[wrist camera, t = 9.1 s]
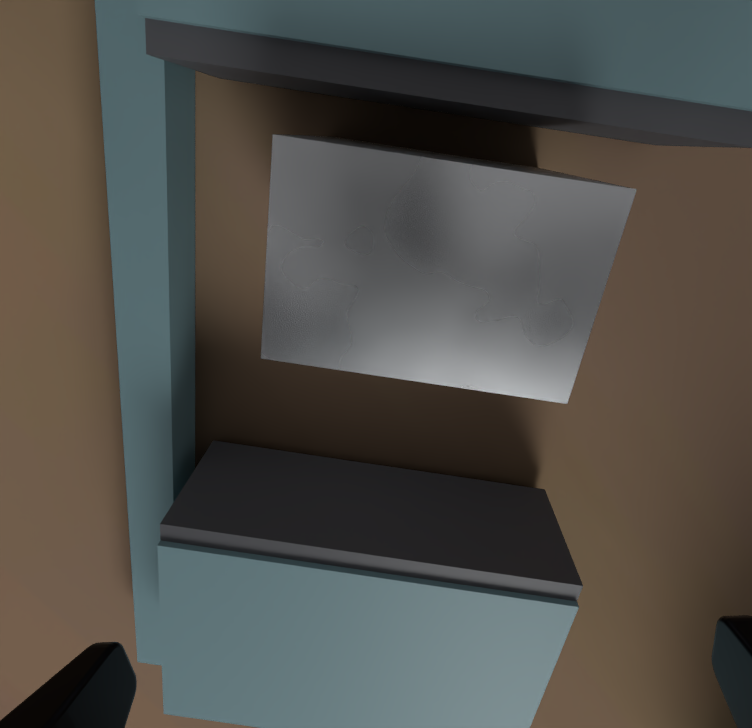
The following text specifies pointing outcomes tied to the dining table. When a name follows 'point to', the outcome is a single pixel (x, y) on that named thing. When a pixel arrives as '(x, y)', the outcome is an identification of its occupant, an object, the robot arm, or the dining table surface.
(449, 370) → the steel block
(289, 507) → the block
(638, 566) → the dining table surface
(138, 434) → the vise body
